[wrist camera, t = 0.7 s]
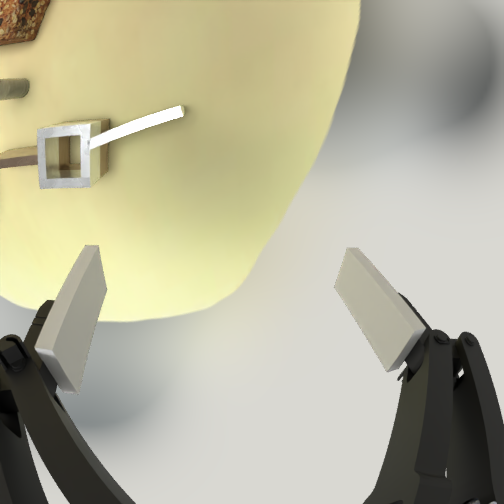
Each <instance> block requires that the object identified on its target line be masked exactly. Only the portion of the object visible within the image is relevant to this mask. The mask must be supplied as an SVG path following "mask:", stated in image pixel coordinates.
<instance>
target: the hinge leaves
mask: <svg viewBox="0 0 504 504" xmlns="http://www.w3.org/2000/svg"><path fill="white" fill-rule="evenodd" d="M183 115H185V110H184V106H183V105H182V106H178V107H174V108H171V109H168V110H165V111H161V112H158V113H155V114H152V115H149V116H146V117H144V118H141V119H138V120H135V121H132V122H130V123H127V124H124V125H122V126H119V127H117V128H114V129H112V130H109V123H110V119H95V120H81V121H70V122H62V123H58V124H54V125H51V126H47V127H44V128H40V129H37V146H33V147H25V148H18V149H11V150H7V151H5V152H3V153H0V169H1V168H8V167H17V166H26V165H37V164H38V171H39V184H40V189H48V188H84V187H91V186H92V185H94V184H95V183H96V182H97V181H98V180H99V179H100V178H101V177H102V176H103V175H104V174H105V173H107V172H108V145H109V142H110V141H112V140H115V139H117V138H120V137H122V136H125V135H128V134H130V133H133V132H136V131H139V130H141V129H144V128H147V127H150V126H153V125H156V124H159V123H162V122H165V121H169V120H172V119H175V118H179V117H182V116H183ZM73 135H81V148H80V153H81V163H80V164H70V136H73Z"/></svg>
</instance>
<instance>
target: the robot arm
mask: <svg viewBox="0 0 504 504" xmlns="http://www.w3.org/2000/svg"><path fill="white" fill-rule="evenodd" d="M334 288H335V289H336V291H337V292H338V294H339V295H340V297H341V298H342V300H343V301H344V303H345V305H346V306H347V308H348V309H349V311H350V312H351V314H352V316H353V317H354V319H355V320H356V322H357V324H358V325H359V327H360V328H361V330H362V332H363V333H364V335H365V336H366V338H367V340H368V341H369V343H370V345H371V346H372V348H373V350H374V351H375V353H376V355H377V356H378V358H379V360H380V362H381V363H382V365H383V367H384V368H385V370H386V372H390V371H393V370H396V369H399V367H400V366H401V365H402V363H403V362H404V361H405V362H406V363H407V366H406V368H405V369H404V371H403V372H402V373H401V374H400V376H399V377H398V379H397V380H398V381H399V380H400V379H401V377H403V380H402V388H401V393H400V399H399V403H398V408H397V413H396V418H395V422H394V426H393V430H392V434H391V438H390V441H389V445H388V449H387V452H386V455H385V459H384V462H383V465H382V468H381V471H380V474H379V477H378V480H377V483H376V486H375V488H374V490H373V492H372V493H371V495H370V496H369V497H368V498H367V499H366V500H365V502H364V503H363V504H504V424H503V419H502V415H501V411H500V407H499V403H498V399H497V395H496V392H495V388H494V385H493V382H492V378H491V375H490V373H489V369H488V366H487V363H486V361H485V358H484V355H483V353H482V350H481V347H480V345H479V342H478V340H477V339H476V337H475V336H474V335H472V334H471V333H469V332H462V333H461V334H460V336H459V338H458V339H450V338H449V337H448V335H447V334H446V333H444V332H443V331H441V330H437V329H435V330H432V329H431V328H430V326H429V325H428V324H427V323H426V322H425V320H424V319H423V318H422V317H421V316H420V314H419V313H418V312H417V310H416V309H415V308H414V307H412V304H411V303H410V302H409V301H408V299H407V298H405V297H404V296H403V295H401V294H400V293H397V292H396V290H395V289H394V288H393V287H392V286H391V284H390V283H389V282H388V281H387V280H386V279H385V277H384V276H383V275H382V274H381V273H380V272H379V271H378V270H377V268H376V267H375V266H374V265H373V264H372V263H371V262H370V261H369V259H368V258H367V257H366V256H365V255H364V254H363V253H362V252H361V251H360V249H358V248H347V249H346V253H345V256H344V259H343V262H342V265H341V269H340V271H339V274H338V277H337V280H336V284H335V286H334ZM106 292H107V287H106V282H105V277H104V272H103V267H102V262H101V257H100V251H99V245H85V246H84V248H83V250H82V251H81V253H80V255H79V257H78V258H77V260H76V262H75V264H74V265H73V267H72V269H71V271H70V273H69V274H68V276H67V278H66V280H65V282H64V284H63V286H62V288H61V290H60V292H59V294H58V296H57V298H56V300H47V301H46V302H45V303H44V304H43V305H42V306H41V307H40V308H39V310H38V312H37V314H36V318H34V320H33V322H32V325H31V327H30V329H29V331H28V333H27V335H26V338H25V340H24V342H22V340H21V339H20V337H18V336H17V335H13V334H10V335H7V336H4V337H3V338H1V339H0V504H48V501H47V499H46V496H45V493H44V491H43V488H42V486H41V483H40V480H39V477H38V474H37V471H36V468H35V465H34V462H33V458H32V455H31V451H30V447H29V443H28V439H27V435H26V431H25V426H26V428H27V431H28V433H29V435H30V437H31V439H32V441H33V443H34V445H35V447H36V449H37V451H38V453H39V455H40V457H41V459H42V460H43V462H44V464H45V466H46V467H47V469H48V471H49V473H50V474H51V476H52V478H53V479H54V481H55V482H56V484H57V486H58V487H59V489H60V490H61V492H62V493H63V494H64V496H65V497H66V499H67V500H68V502H69V503H70V504H136V503H135V502H134V501H133V500H132V499H131V498H130V497H129V496H128V495H127V494H126V493H125V491H124V490H123V489H122V488H121V487H120V486H119V485H118V483H117V482H116V481H115V480H114V479H113V478H112V476H111V475H110V474H109V473H108V471H107V470H106V469H105V468H104V467H103V465H102V464H101V462H100V461H99V460H98V458H97V457H96V456H95V454H94V453H93V452H92V450H91V449H90V447H89V446H88V445H87V443H86V442H85V440H84V439H83V437H82V436H81V434H80V432H79V431H78V429H77V428H76V426H75V425H74V423H73V421H72V420H71V418H70V416H69V415H68V413H67V411H66V410H65V408H64V406H63V404H62V403H61V401H60V399H59V397H58V395H57V394H56V393H55V392H56V388H57V385H58V386H59V388H60V389H61V390H62V392H65V393H70V394H77V395H79V392H80V388H81V382H82V377H83V373H84V369H85V365H86V361H87V356H88V353H89V349H90V345H91V341H92V337H93V334H94V330H95V327H96V323H97V320H98V317H99V313H100V310H101V307H102V304H103V301H104V298H105V295H106ZM462 368H463V371H464V374H463V375H462V376H461V377H460V378H459V375H458V373H459V372H460V371H461V370H462ZM24 424H25V425H24ZM445 471H447V478H446V476H445Z"/></svg>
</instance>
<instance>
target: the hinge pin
mask: <svg viewBox="0 0 504 504" xmlns="http://www.w3.org/2000/svg"><path fill="white" fill-rule="evenodd" d="M28 90H29V81H28V80H27V79H0V101H1V100H7V99H15V98H22V97H24V96H25V95H26V94H27V92H28Z"/></svg>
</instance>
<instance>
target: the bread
mask: <svg viewBox="0 0 504 504" xmlns="http://www.w3.org/2000/svg"><path fill="white" fill-rule="evenodd" d="M49 3H50V0H0V45H4V44H10V43H16V42H24V41H30V40H34V38H35V37H36V35H37V33H38V29H39V26H40V24H41V21H42V19H43V17H44V14H45V11H46V9H47V7H48V5H49Z"/></svg>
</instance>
